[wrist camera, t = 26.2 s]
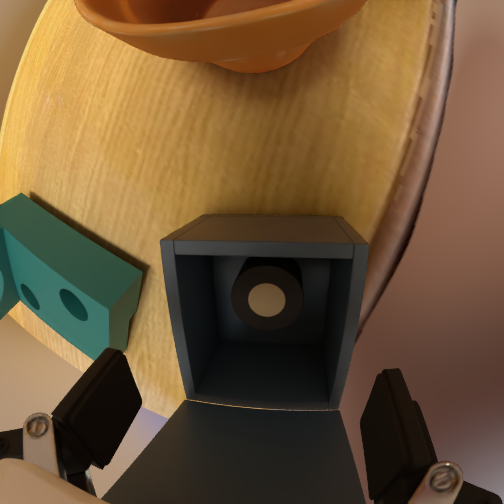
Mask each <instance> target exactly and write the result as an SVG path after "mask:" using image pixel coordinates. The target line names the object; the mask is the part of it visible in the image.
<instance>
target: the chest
mask: <svg viewBox="0 0 504 504" xmlns="http://www.w3.org/2000/svg"><path fill="white" fill-rule="evenodd" d="M160 246H161V255H162V264H163V272H164V280H165V287H166V294H167V301H168V307H169V313H170V319H171V325H172V331H173V336H174V342H175V347H176V352H177V357H178V362H179V367H180V371H181V376H182V380H183V385H184V389H185V393H186V397H187V399H189V400H195V401H201V402H208V403H215V404H223V405H231V406H241V407H252V408H265V409H285V410H327V409H328V410H331V409H332V410H335V409H338V408H339V405H340V401H341V397H342V394H343V390H344V386H345V383H346V379H347V374H348V370H349V366H350V362H351V357H352V352H353V348H354V343H355V338H356V333H357V328H358V323H359V317H360V311H361V305H362V299H363V292H364V286H365V278H366V270H367V262H368V253H369V244H368V243H367V242H366V241H365V240H364V239H363V238H362V237H361V236H360V234H359V233H358V232H357V231H356V230H355V229H354V228H353V227H352V226H351V225H350V224H349V223H348V222H347V221H346V220H345V219H344V218H343V217H342V216H312V215H253V214H216V215H202V216H200V217H198V218H197V219H195V220H193V221H192V222H190V223H188V224H186V225H185V226H183V227H181V228H180V229H178V230H176V231H174V232H173V233H171V234H169V235H168V236H166V237H164V238H163V239H161V240H160ZM248 257H285V258H293V259H294V260H295V261H296V262H297V264H298V265H299V267H300V270H301V273H302V282H303V293H304V303H303V307H302V310H301V312H300V314H299V316H298V317H297V318H296V319H295V320H294V321H293V322H292V323H291V324H289V325H288V326H286V327H284V328H281V329H278V330H272V331H265V330H259V329H255V328H253V327H251V326H249V325H247V324H245V323H244V322H243V321H242V320H241V319H240V318H239V317H238V316H237V315H236V313H235V311H234V310H233V307H232V304H231V289H232V286H233V284H234V282H235V280H236V278H237V276H238V273H239V271H240V269H241V267H242V265H243V263H244V262H245V260H246V259H247V258H248Z"/></svg>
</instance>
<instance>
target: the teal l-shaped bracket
mask: <svg viewBox="0 0 504 504" xmlns="http://www.w3.org/2000/svg"><path fill="white" fill-rule="evenodd" d="M142 274H143V271H141V270H139V269H137V268H136V267H134V266H132V265H131V264H129V263H127V262H125V261H124V260H122V259H120V258H119V257H117V256H115V255H114V254H112V253H111V252H109V251H107V250H106V249H104V248H102V247H101V246H99V245H98V244H96V243H94V242H93V241H91V240H90V239H88V238H87V237H85V236H83V235H82V234H80V233H79V232H77V231H76V230H74V229H73V228H71V227H70V226H68V225H67V224H65V223H64V222H62V221H61V220H59V219H58V218H56V217H55V216H53V215H52V214H50V213H49V212H48V211H46V210H45V209H43V208H42V207H40V206H39V205H38V204H36V203H35V202H33V201H32V200H31V199H29V198H28V197H27V196H25V195H24V194H23V193H20V194H18V195H17V196H15V197H13V198H11V199H10V200H8V201H6V202H4V203H3V204H1V205H0V320H1V319H2V318H3V317H4V316H5V315H6V314H7V313H8V312H9V311H10V310H11V309H12V308H13V307H14V306H15V305H16V304H17V303H18V302H19V301H20V300H21V301H22V302H23V303H24V304H25V305H26V306H27V307H28V308H29V309H30V310H31V311H32V312H34V313H35V314H36V315H37V316H38V317H39V318H40V319H41V320H43V321H44V322H45V323H46V324H47V325H49V326H50V327H51V328H52V329H53V330H55V331H56V332H57V333H58V334H60V335H61V336H62V337H63V338H65V339H66V340H67V341H68V342H70V343H71V344H72V345H74V346H75V347H76V348H78V349H79V350H80V351H82V352H83V353H85V354H86V355H87V356H89V357H90V358H92V359H93V360H96V359H97V358H98V356H99V355H100V354H101V353H102V352H103V351H104V350H105V349H106V348H107V347H110V348H114V349H118V350H121V351H122V353H123V352H124V351H125V349H126V348H127V340H128V328H129V320H130V318H131V317H132V316H133V314H134V313H135V312H136V311H137V305H138V299H139V292H140V286H141V280H142Z"/></svg>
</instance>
